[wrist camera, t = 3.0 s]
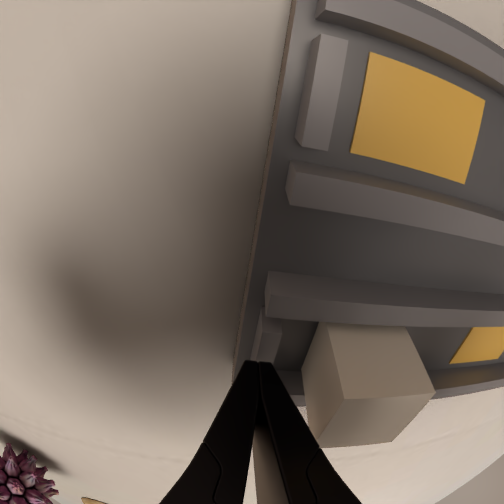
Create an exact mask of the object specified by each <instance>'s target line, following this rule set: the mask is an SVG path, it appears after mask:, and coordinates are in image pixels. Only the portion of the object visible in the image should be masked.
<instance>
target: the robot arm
mask: <svg viewBox="0 0 504 504" xmlns="http://www.w3.org/2000/svg"><path fill="white" fill-rule="evenodd" d="M252 447H253V459H254V471H255V483H256V495H257V504H362V503H361V502H360V501H359V499H358V498H357V497H356V496H355V495H354V494H353V492H352V491H351V490H350V489H349V487H348V486H347V485H346V484H345V483H344V481H343V480H342V479H341V477H340V476H339V475H338V474H337V472H336V471H335V470H334V468H333V467H332V465H331V463H330V462H329V460H328V459H327V457H326V456H325V454H324V452H323V451H322V449H321V448H319V447H320V446H319V444H318V442H317V441H316V439H315V437H314V436H313V434H312V432H311V431H310V429H309V427H308V425H307V424H306V422H305V420H304V419H303V417H302V415H301V413H300V412H299V410H298V408H297V407H296V405H295V403H294V401H293V400H292V398H291V396H290V394H289V393H288V391H287V389H286V387H285V386H284V384H283V382H282V380H281V378H280V377H279V375H278V373H277V371H276V370H275V368H274V366H273V364H272V363H271V362H265V361H259V362H257V361H254V360H245V361H244V362H243V364H242V366H241V368H240V370H239V372H238V374H237V376H236V378H235V380H234V382H233V384H232V386H231V388H230V390H229V392H228V394H227V396H226V398H225V400H224V401H223V403H222V405H221V407H220V409H219V411H218V413H217V415H216V417H215V419H214V421H213V423H212V425H211V427H210V428H209V430H208V432H207V434H206V436H205V438H204V440H203V443H201V445H200V447H199V449H198V451H197V453H196V454H195V456H194V458H193V459H192V461H191V463H190V464H189V466H188V467H187V469H186V470H185V471H184V473H183V474H182V476H181V477H180V478H179V480H178V481H177V482H176V483H175V485H174V486H173V487H172V488H171V490H170V491H169V492H168V493H167V495H166V496H165V497H164V498H163V499H162V501H161V502H160V503H159V504H243V499H244V493H245V487H246V481H247V475H248V469H249V462H250V456H251V450H252Z"/></svg>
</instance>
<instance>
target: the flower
mask: <svg viewBox="0 0 504 504" xmlns="http://www.w3.org/2000/svg"><path fill="white" fill-rule="evenodd" d="M4 449H5V450H4V452H3V457H1V456H0V504H53V503H52V502H51V501H50V500H49V499H48V498H49V497H51V496H53V495H59V492H58V490H55V489H53V488H51V487H52V486H55V484H54V481H53V480H47V479H44V478H43V477H44V474H45V472H46V471H48V469H47V468H46V466H44V467H42V468H38V467H37V468H36V464H35V463H36V460H37V458H35V456H33V455H32V456H31V457H30V458H29V459H28V457H27V454H28V451H26V450H24V449H23V451H22V453H21V454H19V455H18V456H16V454H15V453H14V451H13V449H12V446H11V443H10V444H9V443H6V447H5V448H4Z"/></svg>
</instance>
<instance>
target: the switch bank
mask: <svg viewBox="0 0 504 504" xmlns="http://www.w3.org/2000/svg"><path fill="white" fill-rule="evenodd" d="M319 322H331V323H346V324H363V325H384V326H405V327H406V329H407V331H408V333H409V335H410V337H411V339H412V341H413V344H414V346H415V348H416V350H417V352H418V354H419V356H420V358H421V360H422V363H423V365H424V367H425V369H426V371H427V374H428V376H429V378H430V380H431V383H432V385H433V387H434V390H435V392H436V393H435V394H434V396H433V397H432V398H431V399H439V398H446V397H452V396H458V395H464V394H470V393H475V392H480V391H485V390H490V389H495V388H499V387H504V49H503V48H501V47H500V46H498V45H497V44H495V43H494V42H492V41H491V40H489V39H487V38H486V37H484V36H483V35H481V34H479V33H478V32H476V31H474V30H473V29H471V28H469V27H468V26H466V25H464V24H462V23H461V22H459V21H457V20H455V19H453V18H451V17H450V16H448V15H446V14H444V13H442V12H440V11H438V10H436V9H434V8H432V7H429V6H427V5H425V4H423V3H421V2H419V1H416V0H292V4H291V10H290V16H289V22H288V28H287V34H286V41H285V47H284V53H283V59H282V65H281V71H280V77H279V83H278V89H277V95H276V102H275V108H274V114H273V120H272V126H271V132H270V138H269V144H268V150H267V157H266V163H265V169H264V175H263V181H262V187H261V193H260V200H259V206H258V212H257V218H256V224H255V230H254V236H253V243H252V249H251V255H250V261H249V267H248V273H247V280H246V286H245V292H244V298H243V304H242V310H241V317H240V323H239V329H238V335H237V341H236V347H235V354H234V360H233V371H232V384H233V382H234V380H235V378H236V376H237V374H238V372H239V370H240V368H241V366H242V364H243V362H244V361H245V360H254V361H257V362H259V361H265V362H271V363H272V364H273V366H274V368H275V370H276V371H277V373H278V375H279V377H280V378H281V380H282V382H283V384H284V386H285V387H286V389H287V391H288V393H289V394H290V396H291V398H292V400H293V401H294V403H295V405H296V406H306V402H305V394H304V387H303V379H302V372H301V368H302V365H303V363H304V360H305V358H306V355H307V353H308V350H309V348H310V345H311V342H312V340H313V337H314V334H315V332H316V329H317V326H318V323H319ZM431 399H430V400H431Z"/></svg>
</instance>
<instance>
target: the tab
mask: <svg viewBox="0 0 504 504" xmlns="http://www.w3.org/2000/svg"><path fill="white" fill-rule="evenodd" d="M301 372H302V379H303V387H304V394H305V402H306V409H307V417H308V425H309V429H310V431H311V432H312V434H313V436H314V437H315V439H316V441H317V442H318V444H319V446H320V447H319V448H331V447H347V446H359V445H369V444H378V443H386V442H392V441H393V440H394V439H395V438H396V437H397V436H398V435H399V434H400V433H401V431H402V430H403V429H404V428H405V427H406V426H407V425H408V424H409V423H410V422H411V421H412V420H413V419H414V418H415V416H416V415H417V414H418V413H419V412H420V411H421V410H422V409H423V407H424V406H425V405H426V404H427V403H428V402H429V400H430V399H431V398H432V397H433V396H434V394H435V393H436V392H435V390H434V387H433V385H432V383H431V380H430V378H429V376H428V374H427V371H426V369H425V367H424V365H423V363H422V360H421V358H420V356H419V354H418V352H417V350H416V348H415V346H414V344H413V341H412V339H411V337H410V335H409V333H408V331H407V329H406V327H405V326H384V325H363V324H346V323H331V322H319V323H318V326H317V329H316V332H315V334H314V337H313V340H312V342H311V345H310V348H309V350H308V353H307V355H306V358H305V360H304V363H303V365H302V368H301Z"/></svg>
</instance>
